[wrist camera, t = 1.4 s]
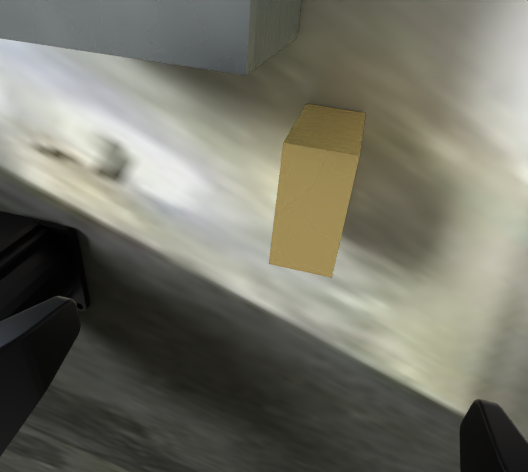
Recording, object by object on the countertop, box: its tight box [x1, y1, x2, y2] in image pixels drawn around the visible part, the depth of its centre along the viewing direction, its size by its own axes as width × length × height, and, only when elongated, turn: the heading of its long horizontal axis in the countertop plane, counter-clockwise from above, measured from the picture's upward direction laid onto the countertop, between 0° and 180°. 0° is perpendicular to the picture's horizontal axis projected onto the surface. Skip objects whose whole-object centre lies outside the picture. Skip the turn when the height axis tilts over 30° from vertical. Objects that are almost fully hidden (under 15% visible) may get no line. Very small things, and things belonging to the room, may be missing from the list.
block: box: [269, 104, 365, 278], centre depth 17 cm, size 5×2×5 cm, turn 174°
